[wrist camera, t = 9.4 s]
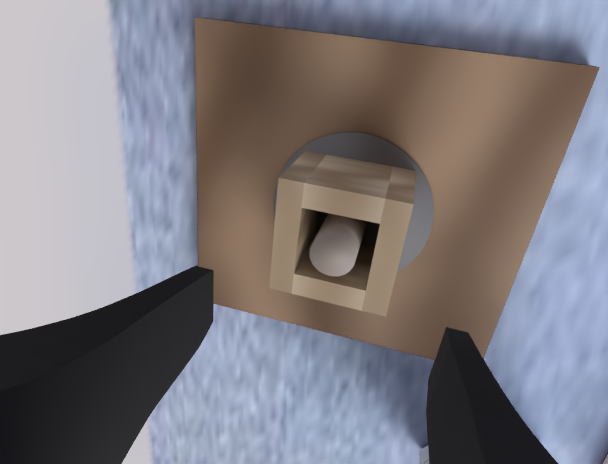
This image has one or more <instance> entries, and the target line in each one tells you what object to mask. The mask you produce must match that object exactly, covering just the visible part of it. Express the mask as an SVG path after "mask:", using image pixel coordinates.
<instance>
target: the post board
mask: <svg viewBox="0 0 608 464" xmlns="http://www.w3.org/2000/svg"><path fill="white" fill-rule="evenodd" d="M599 68H600V67H596V66H591V65H583V64H575V63H567V62H559V61H551V60H543V59H535V58H526V57H518V56H510V55H502V54H494V53H486V52H477V51H469V50H461V49H453V48H445V47H437V46H429V45H420V44H412V43H404V42H396V41H388V40H380V39H371V38H363V37H355V36H347V35H339V34H331V33H323V32H314V31H306V30H298V29H290V28H282V27H274V26H265V25H257V24H249V23H241V22H233V21H225V20H217V19H208V18H195V71H196V137H197V204H198V266H199V267H203V268H207V269H211V270H214V284H213V303H214V304H218V305H222V306H226V307H229V308H233V309H237V310H241V311H245V312H249V313H253V314H257V315H261V316H265V317H269V318H273V319H276V320H280V321H284V322H288V323H292V324H296V325H300V326H304V327H308V328H312V329H316V330H319V331H323V332H327V333H331V334H335V335H339V336H343V337H347V338H351V339H355V340H359V341H363V342H366V343H370V344H374V345H378V346H382V347H386V348H390V349H394V350H398V351H402V352H406V353H410V354H413V355H417V356H421V357H425V358H429V359H433V360H435V359H436V356H437V353H438V350H439V347H440V344H441V341H442V338H443V335H444V332H445V329H446V327H448V328H452V329H456V330H461V331H465V332H468V333H469V334H470V336H471V338H472V339H473V341H474V343H475V345H476V347H477V348H478V350H479V352H480V354H481V356H482V357H483V358H484V355H485V353H486V350H487V348H488V345H489V343H490V340H491V338H492V335H493V333H494V330H495V328H496V325H497V323H498V320H499V318H500V315H501V313H502V310H503V308H504V305H505V303H506V300H507V298H508V295H509V293H510V290H511V288H512V285H513V283H514V280H515V278H516V275H517V273H518V270H519V268H520V265H521V263H522V260H523V258H524V255H525V253H526V250H527V248H528V245H529V243H530V240H531V238H532V235H533V233H534V230H535V228H536V225H537V223H538V220H539V218H540V215H541V213H542V210H543V208H544V205H545V203H546V200H547V198H548V195H549V193H550V190H551V188H552V185H553V183H554V180H555V178H556V175H557V173H558V170H559V168H560V165H561V163H562V160H563V158H564V155H565V153H566V150H567V148H568V145H569V143H570V140H571V138H572V135H573V133H574V130H575V128H576V125H577V123H578V120H579V118H580V115H581V113H582V110H583V108H584V105H585V103H586V100H587V98H588V95H589V93H590V90H591V88H592V85H593V83H594V80H595V78H596V75H597V73H598V70H599ZM305 151H309V152H315V153H320V154H326V155H331V156H337V157H342V158H348V159H354V160H359V161H365V162H370V163H376V164H381V165H387V166H392V167H398V168H403V169H409V170H414V171H416V179H415V193H414V205H413V209H412V213H411V217H410V221H409V225H408V230H407V234H406V238H405V242H404V246H403V250H402V254H401V258H400V262H399V266H398V270H397V274H396V278H395V282H394V286H393V290H392V294H391V298H390V302H389V306H388V310H387V314H386V317H385V316H381V315H377V314H373V313H369V312H365V311H360V310H356V309H352V308H348V307H344V306H340V305H336V304H332V303H328V302H324V301H320V300H316V299H312V298H308V297H303V296H299V295H295V294H291V293H287V292H283V291H279V290H275V289H271V288H269V285H270V273H271V261H272V249H273V237H274V225H275V213H276V201H277V189H278V178H279V177H280V176H281V175H282V174H283V173H284V172H285V171H286V170H287V169H288V168H289V167H290V166H291V165H292V164H293V163H294V162H295V161H296V160H297V159H298V158H299V157H300V156H301V155H302V154H303V153H304V152H305ZM379 226H380V224H379V223H374V222H369V221H364V220H359V219H354V218H349V217H345V216H340V215H335V214H330V213H325V212H320V211H319V215H318V222H317V229H316V233H318V234H317V236H316V238H315V240H314V242H313V243H312V245H311V248H310V253H309V254H310V260H311V262H312V264H313V265H314V267H315V268H316V269H317V270H318V271H320V272H321V273H323V274H325V275H328V276H342V275H344V274H346V273H348V272H349V271H350V270H351V269H352V268H353V266H354V264H355V261H356V257H357V254H358V251H359V248H360V244H361V243H366V244H370V245H376V241H377V236H378V231H379Z"/></svg>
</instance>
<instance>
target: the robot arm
mask: <svg viewBox="0 0 608 464" xmlns="http://www.w3.org/2000/svg"><path fill="white" fill-rule="evenodd" d="M213 284H214V270H211V269H207V268H203V267H199V266H195V267H192V268H190V269H187V270H185V271H183V272H181V273H179V274H177V275H175V276H173V277H171V278H168V279H166V280H164V281H162V282H160V283H158V284H156V285H154V286H152V287H149V288H147V289H145V290H143V291H141V292H139V293H136V294H134V295H132V296H129V297H127V298H124V299H122V300H120V301H117V302H115V303H113V304H110V305H108V306H105V307H103V308H100V309H97V310H94V311H91V312H89V313H85V314H82V315H80V316H76V317H73V318H70V319H66V320H63V321H59V322H56V323H51V324H48V325H44V326H40V327H36V328H32V329H28V330H24V331H19V332H14V333H9V334H4V335H0V464H121V463H122V462H123V460H124V458H125V457H126V454H127V453H128V451H129V449H130V448H131V446H132V444H133V442H134V441H135V439H136V437H137V436H138V434H139V432H140V431H141V429H142V427H143V426H144V424H145V422H146V421H147V419H148V417H149V416H150V414H151V413H152V411H153V410H154V408H155V407H156V405H157V404H158V402H159V401H160V400H161V398H162V397H163V396H164V394H165V393H166V392H167V390H168V389H169V388H170V386H171V385H172V384H173V382H174V381H175V380H176V378H177V377H178V376H179V374H180V373H181V371H182V370H183V369H184V367H185V366H186V365H187V363H188V362H189V361H190V359H191V358H192V356H193V355H194V354H195V352H196V351H197V349H198V348H199V346H200V345H201V343H202V341H203V339H204V338H205V336H206V334H207V332H208V330H209V328H210V326H211V324H212V322H213ZM426 412H427V432H428V449H429V464H558V463H557V462H556V461H555V460H554V458H553V457H552V456H551V455H550V454H549V453H548V451H547V450H546V449H545V448H544V446H543V445H542V444H541V443H540V442H539V440H538V439H537V438H536V437H535V436H534V434H533V433H532V432H531V430H530V429H529V428H528V427H527V425H526V424H525V423H524V421H523V420H522V418H521V417H520V416H519V414H518V413H517V411H516V410H515V409H514V407H513V406H512V404H511V403H510V401H509V400H508V398H507V397H506V395H505V394H504V392H503V390H502V389H501V387H500V386H499V384H498V383H497V381H496V379H495V378H494V376H493V374H492V373H491V371H490V369H489V368H488V366H487V364H486V363H485V361H484V359H483V357H482V356H481V354H480V352H479V350H478V348H477V347H476V345H475V343H474V341H473V339H472V338H471V336H470V334H469V333H468V332H465V331H461V330H456V329H452V328H448V327H446V329H445V332H444V335H443V338H442V341H441V344H440V347H439V350H438V353H437V356H436V359H435V362H434V365H433V368H432V371H431V374H430V377H429V381H428V395H427V411H426Z"/></svg>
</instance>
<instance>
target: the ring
mask: <svg viewBox="0 0 608 464" xmlns="http://www.w3.org/2000/svg"><path fill="white" fill-rule="evenodd" d="M415 179H416V171H414V170H409V169H403V168H398V167H392V166H387V165H381V164H376V163H370V162H365V161H359V160H354V159H348V158H342V157H337V156H331V155H326V154H320V153H315V152H309V151H305V152H304V153H303V154H302V155H301V156H300V157H299V158H298V159H297V160H296V161H295V162H294V163H293V164H292V165H291V166H290V167H289V168H288V169H287V170H286V171H285V172H284V173H283V174H282V175H281V176H280V177H279V178H278V189H277V201H276V213H275V225H274V237H273V249H272V261H271V273H270V285H269V288H271V289H275V290H279V291H283V292H287V293H291V294H295V295H299V296H303V297H308V298H312V299H316V300H320V301H324V302H328V303H332V304H336V305H340V306H344V307H348V308H352V309H356V310H360V311H365V312H369V313H373V314H377V315H381V316H385V317H386V314H387V310H388V306H389V302H390V298H391V294H392V290H393V286H394V282H395V278H396V274H397V270H398V266H399V262H400V258H401V254H402V250H403V246H404V242H405V238H406V234H407V230H408V225H409V221H410V217H411V213H412V209H413V205H414V193H415ZM319 211H320V212H325V213H330V214H335V215H340V216H345V217H349V218H354V219H359V220H364V221H369V222H374V223H379V224H380V226H379V231H378V236H377V241H376V245H370V244H366V243H361V244H360V248H359V251H358V254H357V257H356V261H355V264H354V266H353V268H352V269H351V270H350V271H349V272H348V273H346V274H344V275H342V276H328V275H325V274H323V273H321V272H320V271H318V270H317V269H316V268H315V267H314V265H313V264H312V262H311V260H310V254H309V253H310V248H311V245H312V243H313V242H314V240H315V238H316V236H317V234H318V233H316V229H317V222H318V215H319Z"/></svg>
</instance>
